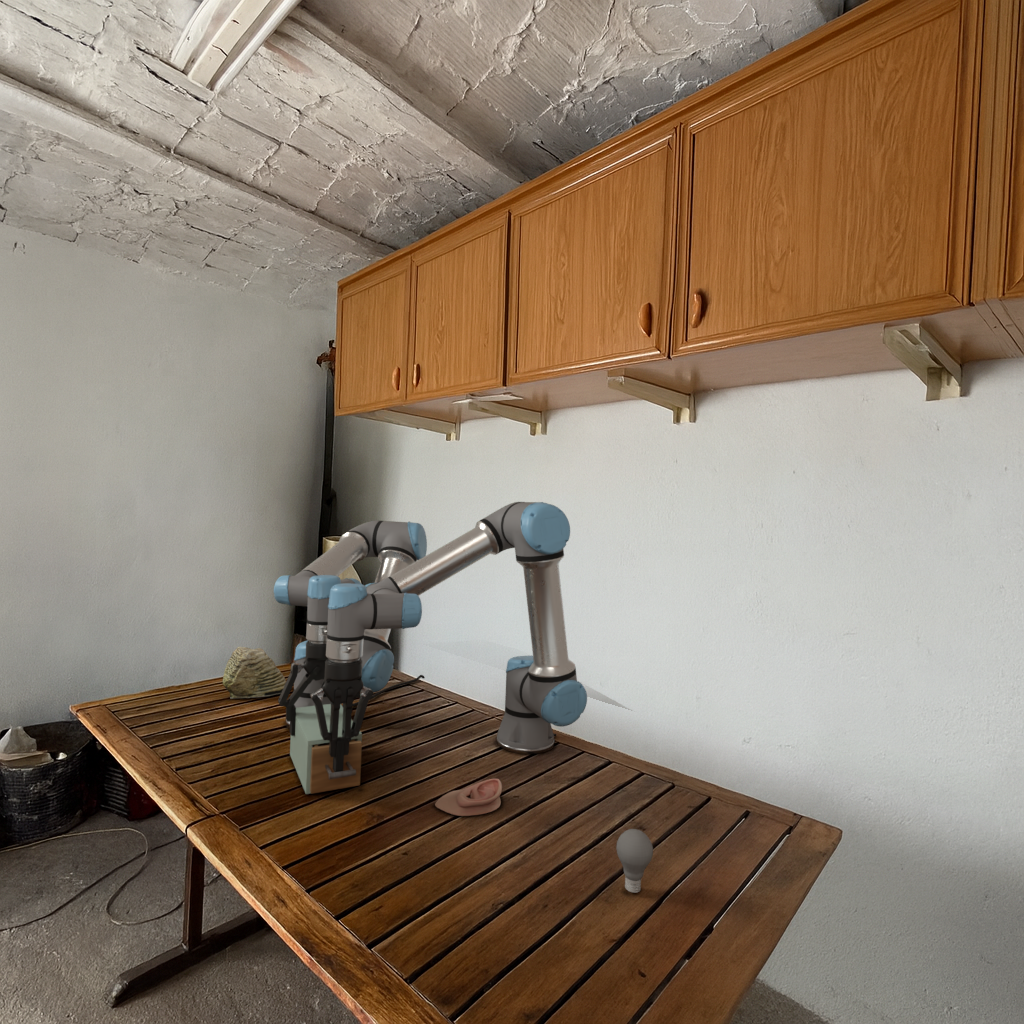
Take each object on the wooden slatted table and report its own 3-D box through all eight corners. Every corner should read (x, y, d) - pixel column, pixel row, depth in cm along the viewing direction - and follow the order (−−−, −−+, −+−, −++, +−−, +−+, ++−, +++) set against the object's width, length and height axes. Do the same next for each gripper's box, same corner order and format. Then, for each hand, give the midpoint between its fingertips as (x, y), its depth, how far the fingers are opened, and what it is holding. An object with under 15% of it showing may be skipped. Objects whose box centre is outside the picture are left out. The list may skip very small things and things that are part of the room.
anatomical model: (430, 792, 129) (447, 769, 140) (429, 811, 129) (446, 787, 140) (494, 801, 126) (506, 777, 137) (493, 821, 126) (505, 795, 138)
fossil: (218, 695, 195) (220, 647, 195) (278, 685, 208) (279, 640, 207) (228, 703, 189) (230, 653, 188) (289, 692, 201) (290, 645, 201)
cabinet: (360, 784, 140) (362, 733, 140) (305, 794, 135) (307, 741, 134) (338, 747, 159) (339, 702, 159) (289, 754, 154) (291, 708, 153)
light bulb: (610, 879, 108) (613, 822, 108) (644, 879, 109) (647, 822, 109) (619, 902, 102) (622, 840, 102) (655, 901, 103) (658, 840, 103)
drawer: (366, 797, 133) (368, 752, 132) (316, 806, 128) (317, 760, 128) (339, 749, 156) (340, 711, 155) (294, 756, 151) (296, 716, 150)
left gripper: (271, 647, 143) (268, 742, 143) (375, 640, 154) (372, 729, 154) (267, 640, 150) (264, 731, 150) (367, 634, 161) (364, 719, 161)
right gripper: (315, 664, 126) (308, 782, 126) (380, 660, 132) (373, 773, 132) (308, 655, 132) (302, 768, 133) (370, 652, 138) (364, 759, 139)
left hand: (319, 730), depth 152 cm, fingers closed on cabinet, 12 cm apart
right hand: (337, 770), depth 132 cm, fingers closed
